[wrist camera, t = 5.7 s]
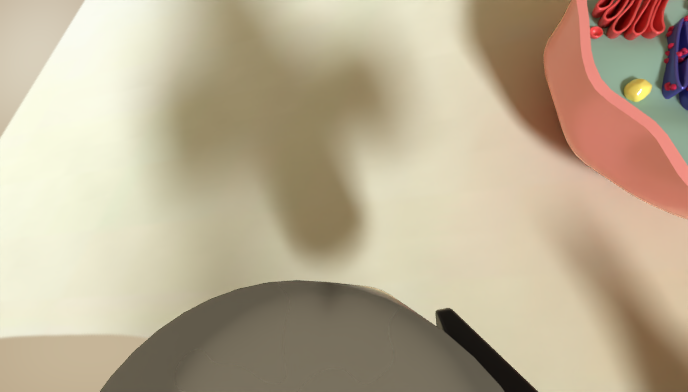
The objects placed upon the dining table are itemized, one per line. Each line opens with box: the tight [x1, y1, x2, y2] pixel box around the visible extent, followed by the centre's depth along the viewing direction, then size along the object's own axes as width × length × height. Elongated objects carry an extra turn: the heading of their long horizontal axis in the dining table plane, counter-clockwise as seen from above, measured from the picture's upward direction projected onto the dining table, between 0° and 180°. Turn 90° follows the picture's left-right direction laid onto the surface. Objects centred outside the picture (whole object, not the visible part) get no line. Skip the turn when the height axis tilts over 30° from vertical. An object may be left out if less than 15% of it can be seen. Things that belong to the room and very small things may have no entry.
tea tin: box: [100, 280, 504, 392], centre depth 9 cm, size 6×6×12 cm
